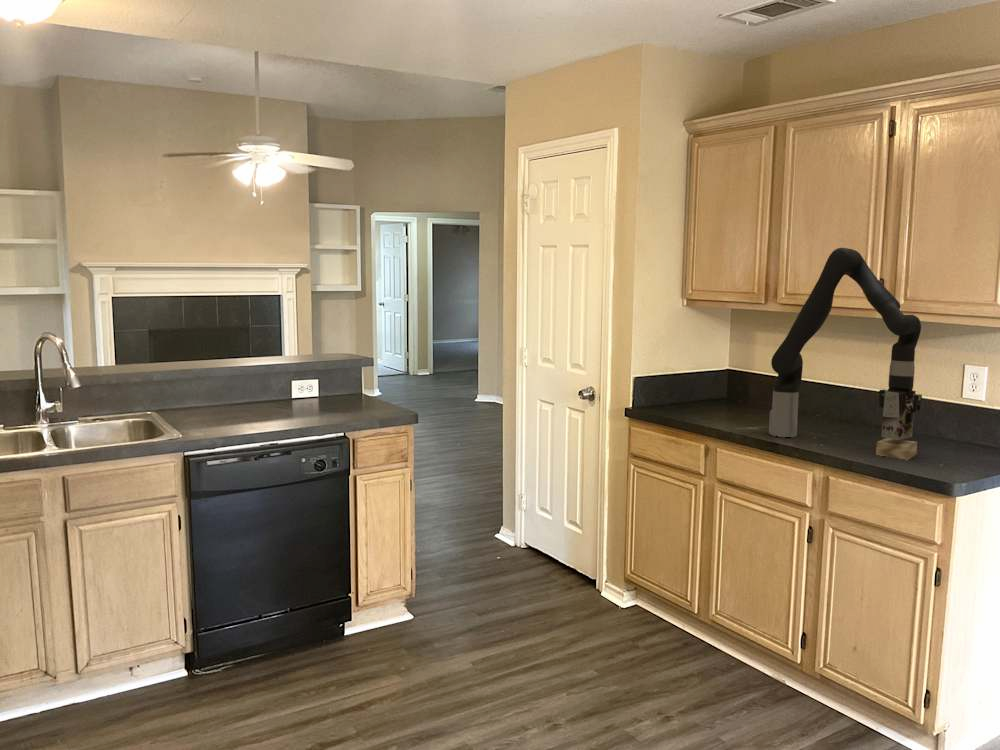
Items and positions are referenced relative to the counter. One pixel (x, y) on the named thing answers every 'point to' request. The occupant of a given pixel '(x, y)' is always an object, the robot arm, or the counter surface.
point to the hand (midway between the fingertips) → (898, 422)
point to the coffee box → (896, 415)
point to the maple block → (896, 448)
